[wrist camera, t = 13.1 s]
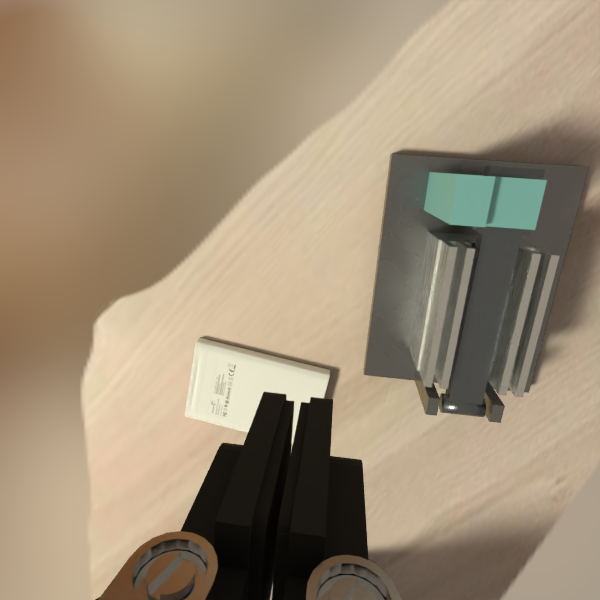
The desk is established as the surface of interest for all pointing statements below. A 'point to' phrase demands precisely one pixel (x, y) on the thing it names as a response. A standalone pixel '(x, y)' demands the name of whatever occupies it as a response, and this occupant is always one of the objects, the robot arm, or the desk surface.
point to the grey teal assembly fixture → (461, 281)
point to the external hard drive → (246, 383)
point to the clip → (484, 200)
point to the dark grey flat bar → (484, 308)
